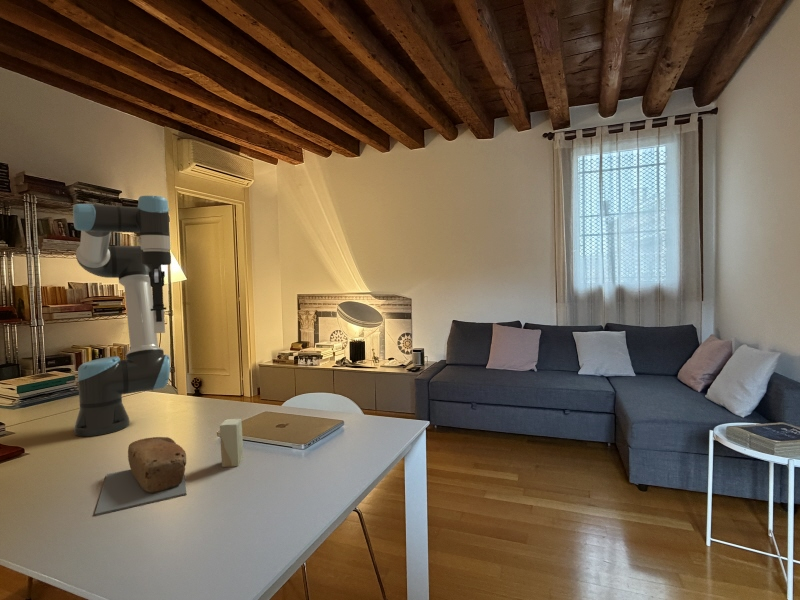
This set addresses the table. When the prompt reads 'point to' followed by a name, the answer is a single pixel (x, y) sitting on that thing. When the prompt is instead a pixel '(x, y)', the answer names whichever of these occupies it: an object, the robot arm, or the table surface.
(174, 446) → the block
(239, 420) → the box
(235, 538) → the table surface
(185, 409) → the table surface
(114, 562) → the table surface
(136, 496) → the mat
